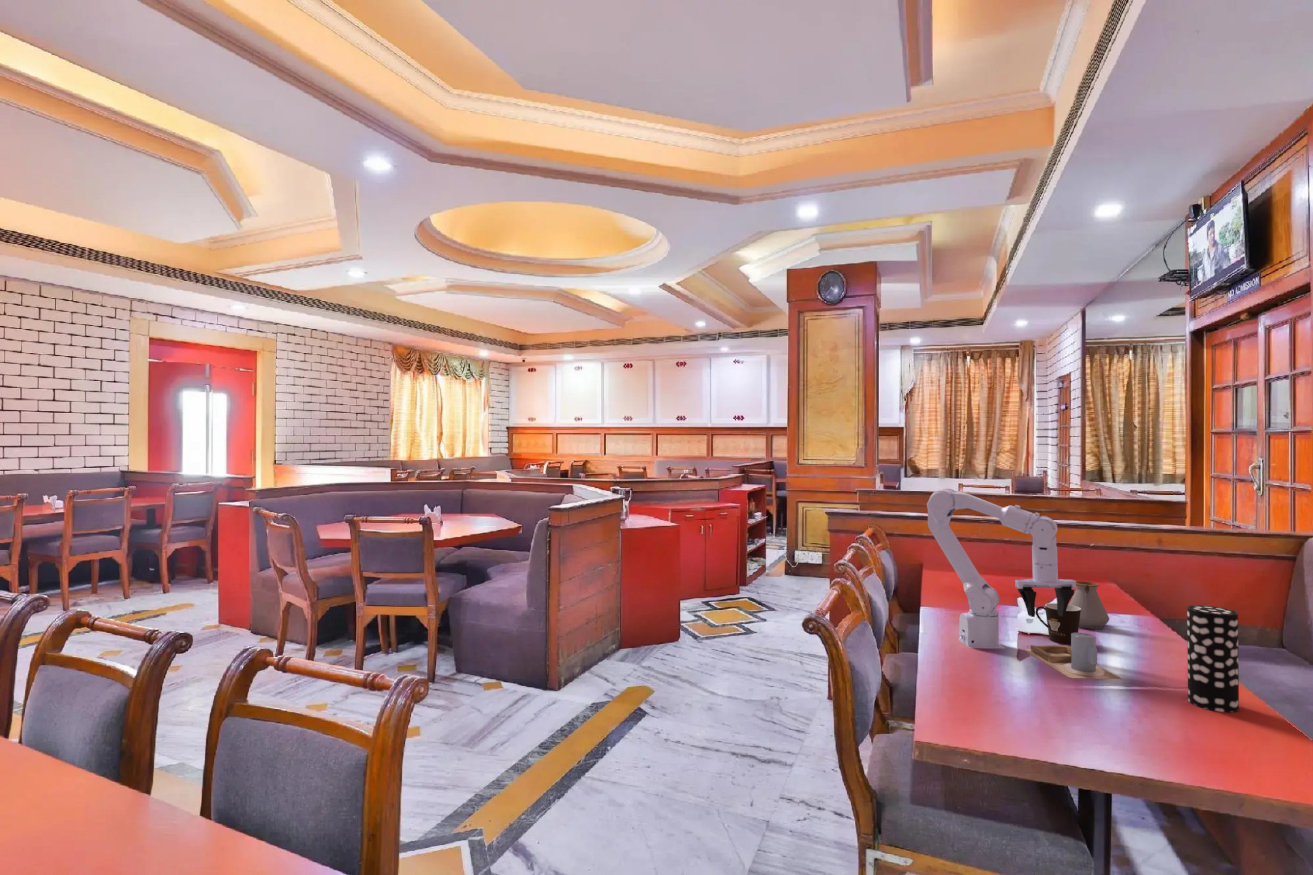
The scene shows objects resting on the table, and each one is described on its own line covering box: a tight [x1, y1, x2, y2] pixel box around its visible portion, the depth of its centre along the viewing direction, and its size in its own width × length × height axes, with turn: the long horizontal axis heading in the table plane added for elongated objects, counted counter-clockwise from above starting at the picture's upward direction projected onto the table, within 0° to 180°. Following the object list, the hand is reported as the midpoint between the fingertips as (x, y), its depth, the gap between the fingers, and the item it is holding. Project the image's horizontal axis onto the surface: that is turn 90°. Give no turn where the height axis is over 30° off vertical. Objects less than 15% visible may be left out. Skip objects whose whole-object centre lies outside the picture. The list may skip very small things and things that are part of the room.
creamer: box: [1070, 632, 1098, 672], centre depth 160 cm, size 7×5×8 cm
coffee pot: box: [1068, 580, 1110, 630], centre depth 199 cm, size 21×12×15 cm, turn 148°
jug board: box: [1022, 644, 1123, 680], centre depth 167 cm, size 12×22×2 cm, turn 178°
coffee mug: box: [1035, 602, 1081, 646], centre depth 187 cm, size 12×9×10 cm
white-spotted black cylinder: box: [1186, 604, 1240, 713], centre depth 142 cm, size 8×8×20 cm
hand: (1046, 615), depth 174 cm, fingers open, 7 cm apart
